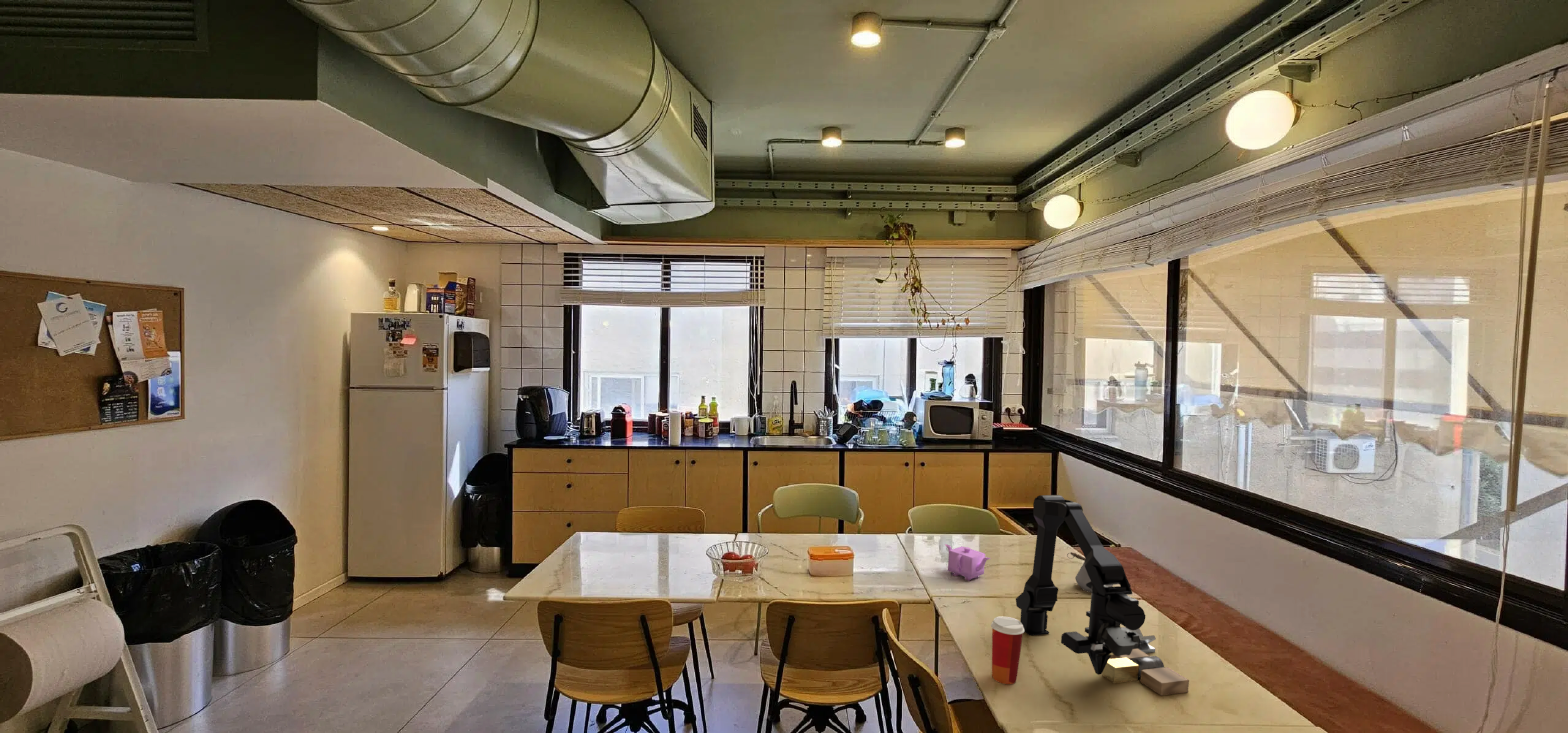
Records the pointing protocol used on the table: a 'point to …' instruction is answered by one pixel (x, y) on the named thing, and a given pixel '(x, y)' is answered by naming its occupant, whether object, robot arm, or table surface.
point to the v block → (1145, 642)
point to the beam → (1159, 677)
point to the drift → (1121, 670)
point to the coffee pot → (1083, 575)
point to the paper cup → (1006, 648)
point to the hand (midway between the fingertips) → (1098, 674)
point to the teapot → (966, 562)
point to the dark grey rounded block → (1147, 663)
